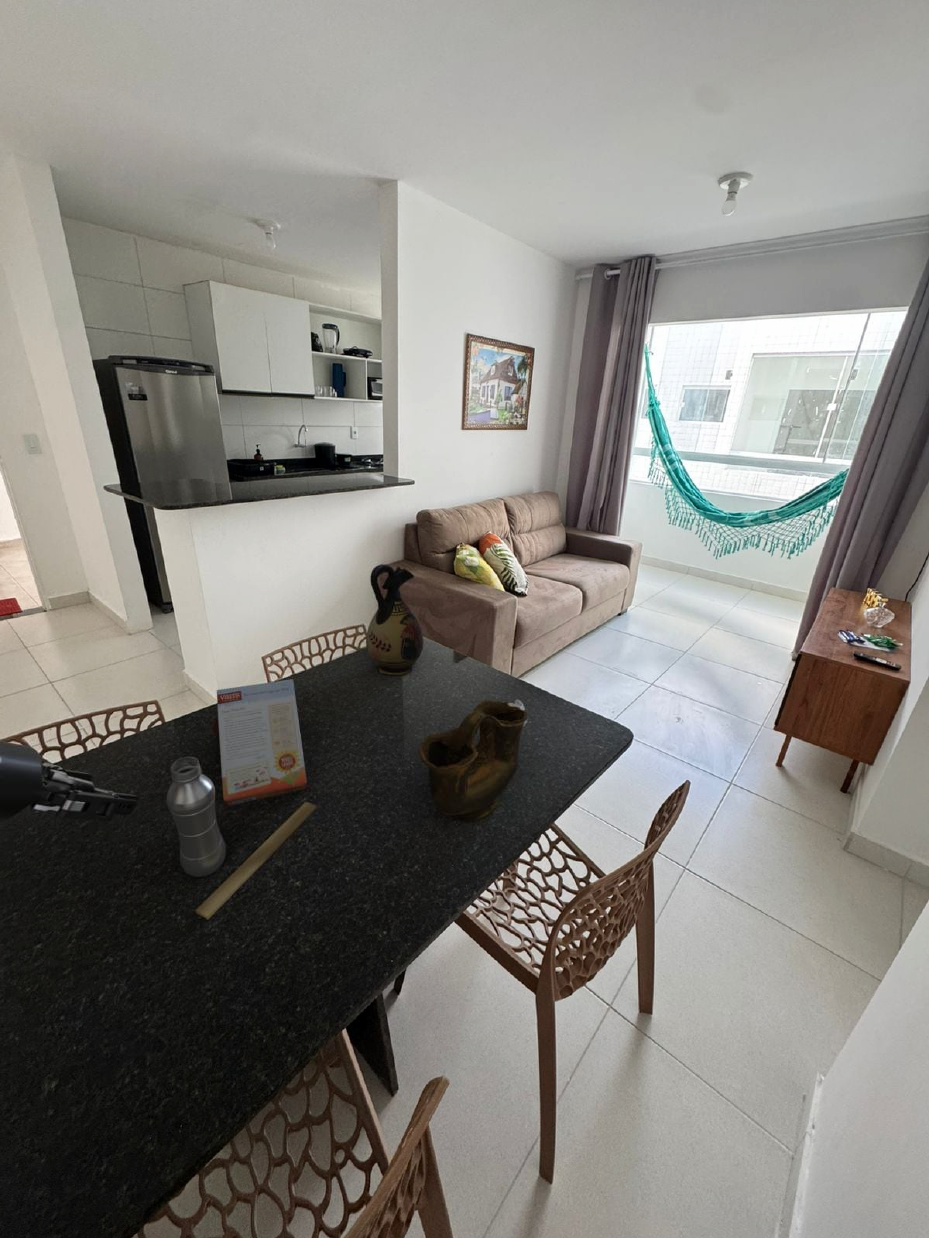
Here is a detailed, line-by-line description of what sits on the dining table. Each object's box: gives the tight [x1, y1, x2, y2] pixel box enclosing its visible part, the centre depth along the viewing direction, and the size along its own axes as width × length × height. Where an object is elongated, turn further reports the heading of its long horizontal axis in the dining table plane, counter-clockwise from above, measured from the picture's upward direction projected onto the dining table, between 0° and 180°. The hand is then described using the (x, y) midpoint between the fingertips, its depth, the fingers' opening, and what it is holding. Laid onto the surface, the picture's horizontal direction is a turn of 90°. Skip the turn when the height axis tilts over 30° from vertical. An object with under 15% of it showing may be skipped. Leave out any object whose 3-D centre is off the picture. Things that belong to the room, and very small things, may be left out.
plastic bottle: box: [166, 756, 227, 878], centre depth 77 cm, size 6×7×20 cm
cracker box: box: [216, 678, 308, 807], centre depth 97 cm, size 14×6×21 cm
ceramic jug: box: [365, 563, 424, 676], centre depth 135 cm, size 17×16×30 cm
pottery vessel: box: [417, 699, 529, 823], centre depth 93 cm, size 25×11×20 cm, turn 140°
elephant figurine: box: [507, 699, 528, 728], centre depth 119 cm, size 7×8×6 cm
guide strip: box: [195, 801, 317, 920], centre depth 83 cm, size 2×24×1 cm, turn 156°
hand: (109, 793), depth 63 cm, fingers open, 8 cm apart
